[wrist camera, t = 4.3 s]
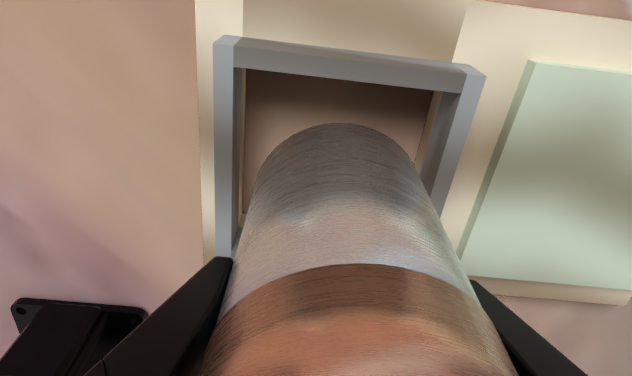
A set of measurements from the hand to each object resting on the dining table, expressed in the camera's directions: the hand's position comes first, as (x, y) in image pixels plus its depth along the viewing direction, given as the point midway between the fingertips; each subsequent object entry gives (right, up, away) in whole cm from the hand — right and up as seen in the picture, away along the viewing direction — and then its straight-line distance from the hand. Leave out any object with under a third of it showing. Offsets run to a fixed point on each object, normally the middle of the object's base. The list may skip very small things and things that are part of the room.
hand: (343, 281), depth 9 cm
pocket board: (+5, +3, +7) cm, 9 cm away
